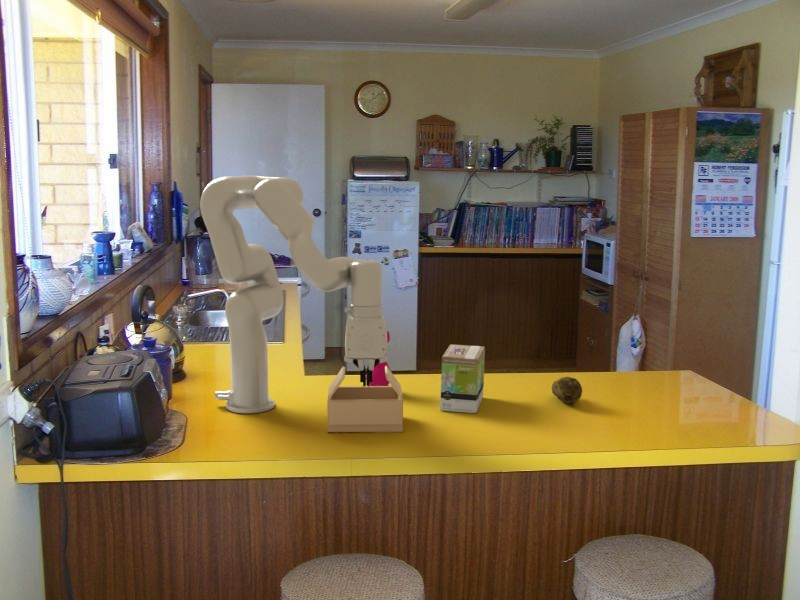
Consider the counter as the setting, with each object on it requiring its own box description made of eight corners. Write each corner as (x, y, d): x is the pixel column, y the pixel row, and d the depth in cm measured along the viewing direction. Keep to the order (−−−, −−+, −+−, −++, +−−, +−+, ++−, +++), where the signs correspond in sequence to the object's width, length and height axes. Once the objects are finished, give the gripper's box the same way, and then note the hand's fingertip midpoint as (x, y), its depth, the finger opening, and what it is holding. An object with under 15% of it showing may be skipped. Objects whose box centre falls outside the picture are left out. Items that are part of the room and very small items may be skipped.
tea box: (477, 414, 217) (479, 358, 214) (439, 411, 219) (440, 356, 216) (484, 397, 232) (485, 344, 229) (447, 395, 234) (448, 342, 231)
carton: (327, 433, 201) (327, 401, 200) (329, 416, 214) (329, 385, 213) (402, 433, 202) (403, 400, 201) (400, 415, 215) (400, 385, 214)
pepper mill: (388, 397, 231) (389, 325, 227) (363, 395, 232) (363, 324, 229) (394, 389, 238) (394, 320, 234) (369, 388, 239) (369, 319, 236)
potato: (582, 397, 232) (583, 369, 230) (581, 411, 220) (582, 382, 218) (551, 395, 234) (552, 367, 232) (548, 409, 221) (549, 379, 220)
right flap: (400, 397, 202) (385, 377, 201) (398, 385, 212) (384, 367, 211) (402, 396, 202) (387, 376, 201) (400, 384, 212) (386, 365, 211)
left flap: (331, 386, 211) (345, 367, 211) (330, 398, 202) (344, 378, 201) (329, 385, 211) (343, 365, 211) (328, 396, 201) (342, 376, 201)
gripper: (334, 314, 199) (335, 389, 202) (397, 314, 200) (397, 389, 203) (335, 308, 207) (336, 381, 210) (396, 308, 207) (396, 380, 211)
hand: (366, 384), depth 206 cm, fingers closed
